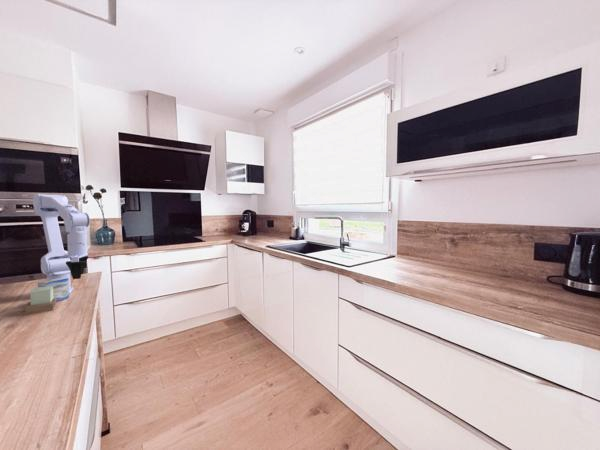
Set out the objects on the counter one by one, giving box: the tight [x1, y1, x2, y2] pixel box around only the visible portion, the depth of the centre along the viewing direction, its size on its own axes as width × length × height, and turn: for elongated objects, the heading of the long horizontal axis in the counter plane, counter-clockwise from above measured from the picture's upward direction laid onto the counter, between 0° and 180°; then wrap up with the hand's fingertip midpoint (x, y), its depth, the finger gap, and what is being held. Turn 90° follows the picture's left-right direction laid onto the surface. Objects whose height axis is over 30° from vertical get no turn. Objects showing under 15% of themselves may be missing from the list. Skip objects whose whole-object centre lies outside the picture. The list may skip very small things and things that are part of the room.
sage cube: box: [29, 286, 53, 305], centre depth 91 cm, size 5×5×5 cm
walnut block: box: [24, 298, 57, 316], centre depth 91 cm, size 7×7×3 cm
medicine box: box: [37, 277, 70, 303], centre depth 98 cm, size 8×4×9 cm, turn 168°
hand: (78, 276), depth 98 cm, fingers open, 7 cm apart
